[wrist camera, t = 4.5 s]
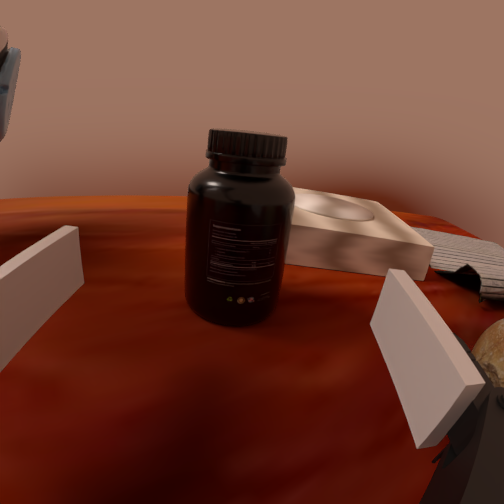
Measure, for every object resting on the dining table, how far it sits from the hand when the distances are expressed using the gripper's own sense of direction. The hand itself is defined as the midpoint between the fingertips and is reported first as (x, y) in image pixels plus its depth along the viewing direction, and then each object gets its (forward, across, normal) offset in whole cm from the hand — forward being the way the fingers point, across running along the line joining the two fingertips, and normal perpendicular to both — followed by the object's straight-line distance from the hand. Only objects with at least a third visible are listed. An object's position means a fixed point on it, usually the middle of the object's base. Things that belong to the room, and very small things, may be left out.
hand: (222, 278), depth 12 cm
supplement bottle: (+9, 0, -7) cm, 11 cm away
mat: (+23, +35, -7) cm, 42 cm away
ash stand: (+27, +10, -6) cm, 29 cm away
